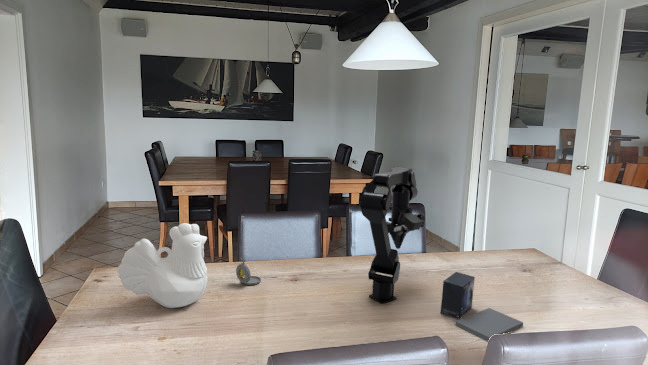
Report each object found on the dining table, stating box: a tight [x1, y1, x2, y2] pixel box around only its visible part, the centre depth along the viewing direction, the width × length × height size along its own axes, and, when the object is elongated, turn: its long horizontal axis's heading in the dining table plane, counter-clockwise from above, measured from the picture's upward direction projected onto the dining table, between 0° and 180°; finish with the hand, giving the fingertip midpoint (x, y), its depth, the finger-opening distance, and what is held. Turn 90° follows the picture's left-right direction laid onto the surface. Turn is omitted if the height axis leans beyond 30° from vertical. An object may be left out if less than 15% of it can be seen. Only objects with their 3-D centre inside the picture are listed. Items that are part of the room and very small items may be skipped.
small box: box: [439, 271, 475, 320], centre depth 132 cm, size 11×6×10 cm, turn 143°
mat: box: [454, 307, 524, 342], centre depth 124 cm, size 16×11×1 cm
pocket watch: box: [235, 256, 262, 286], centre depth 150 cm, size 8×8×10 cm
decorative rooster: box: [116, 222, 209, 309], centre depth 131 cm, size 25×16×25 cm, turn 107°
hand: (398, 248), depth 151 cm, fingers closed
